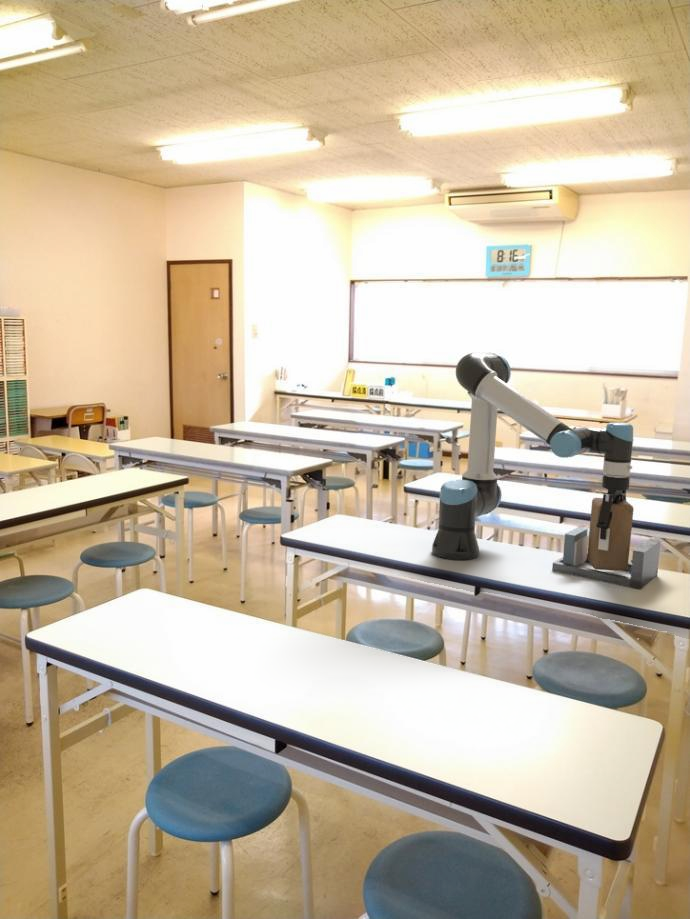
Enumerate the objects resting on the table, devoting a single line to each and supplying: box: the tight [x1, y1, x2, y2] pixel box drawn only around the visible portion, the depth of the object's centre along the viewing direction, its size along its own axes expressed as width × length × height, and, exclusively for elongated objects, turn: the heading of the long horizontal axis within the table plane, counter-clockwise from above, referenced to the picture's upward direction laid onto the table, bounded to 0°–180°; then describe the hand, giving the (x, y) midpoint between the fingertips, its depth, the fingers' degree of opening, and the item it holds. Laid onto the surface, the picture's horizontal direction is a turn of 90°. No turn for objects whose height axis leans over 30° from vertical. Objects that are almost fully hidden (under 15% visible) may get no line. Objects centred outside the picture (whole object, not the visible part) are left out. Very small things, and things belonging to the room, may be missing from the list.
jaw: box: [562, 526, 589, 567], centre depth 222 cm, size 4×11×11 cm, turn 142°
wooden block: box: [587, 497, 634, 572], centre depth 215 cm, size 10×10×20 cm
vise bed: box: [551, 538, 662, 591], centre depth 217 cm, size 26×17×11 cm, turn 52°
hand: (610, 545), depth 216 cm, fingers open, 13 cm apart
